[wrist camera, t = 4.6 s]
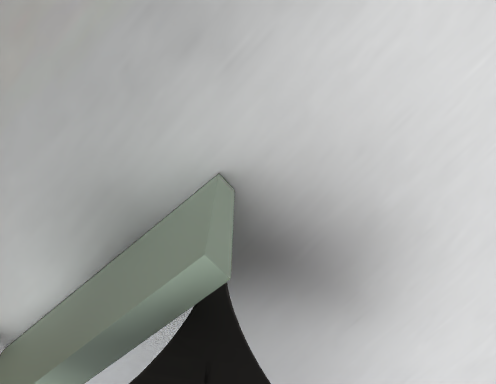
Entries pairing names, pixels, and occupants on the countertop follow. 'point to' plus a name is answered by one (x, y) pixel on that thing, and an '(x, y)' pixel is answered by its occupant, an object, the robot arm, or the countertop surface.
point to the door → (131, 295)
